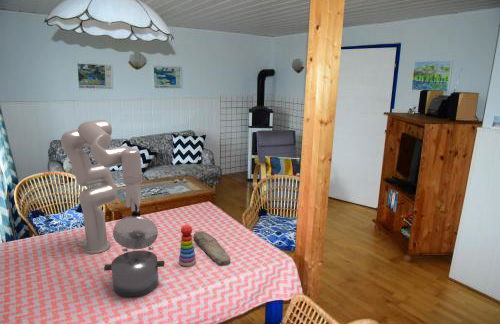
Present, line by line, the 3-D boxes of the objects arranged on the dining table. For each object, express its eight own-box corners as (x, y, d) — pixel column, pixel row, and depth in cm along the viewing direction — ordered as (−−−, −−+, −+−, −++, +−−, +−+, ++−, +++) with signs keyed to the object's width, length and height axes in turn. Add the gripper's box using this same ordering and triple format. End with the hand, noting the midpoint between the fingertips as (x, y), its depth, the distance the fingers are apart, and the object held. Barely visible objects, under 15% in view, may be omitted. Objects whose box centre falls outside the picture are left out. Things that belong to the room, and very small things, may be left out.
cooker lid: (109, 219, 142) (111, 213, 145) (116, 250, 152) (117, 244, 155) (155, 217, 145) (156, 211, 148) (159, 247, 155) (159, 241, 158)
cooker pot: (101, 300, 137) (98, 273, 134) (112, 273, 156) (110, 248, 153) (163, 295, 141) (162, 269, 138) (166, 269, 160) (165, 245, 157)
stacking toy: (199, 262, 165) (198, 226, 161) (185, 269, 160) (183, 231, 155) (189, 256, 171) (188, 220, 166) (175, 262, 165) (174, 225, 161)
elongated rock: (216, 271, 161) (235, 267, 166) (217, 261, 160) (236, 257, 165) (188, 237, 190) (205, 233, 195) (189, 228, 188) (206, 225, 194)
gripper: (126, 174, 152) (130, 214, 156) (119, 184, 137) (124, 228, 142) (144, 173, 153) (147, 213, 157) (139, 183, 139) (143, 226, 143)
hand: (136, 220), depth 149 cm, fingers closed
